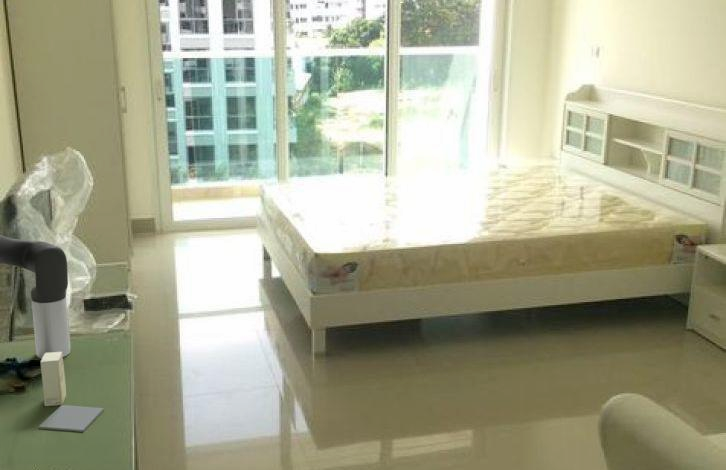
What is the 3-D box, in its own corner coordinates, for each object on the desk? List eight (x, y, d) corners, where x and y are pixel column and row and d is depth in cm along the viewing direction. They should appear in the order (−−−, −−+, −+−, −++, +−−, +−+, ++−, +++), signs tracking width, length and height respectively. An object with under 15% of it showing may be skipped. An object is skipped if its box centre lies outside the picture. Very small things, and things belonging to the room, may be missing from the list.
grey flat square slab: (62, 406, 188) (61, 404, 188) (104, 409, 187) (103, 408, 187) (38, 428, 177) (38, 426, 177) (83, 431, 176) (83, 429, 176)
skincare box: (62, 405, 188) (58, 360, 185) (43, 406, 187) (39, 362, 184) (66, 394, 194) (63, 350, 191) (48, 395, 193) (44, 351, 190)
